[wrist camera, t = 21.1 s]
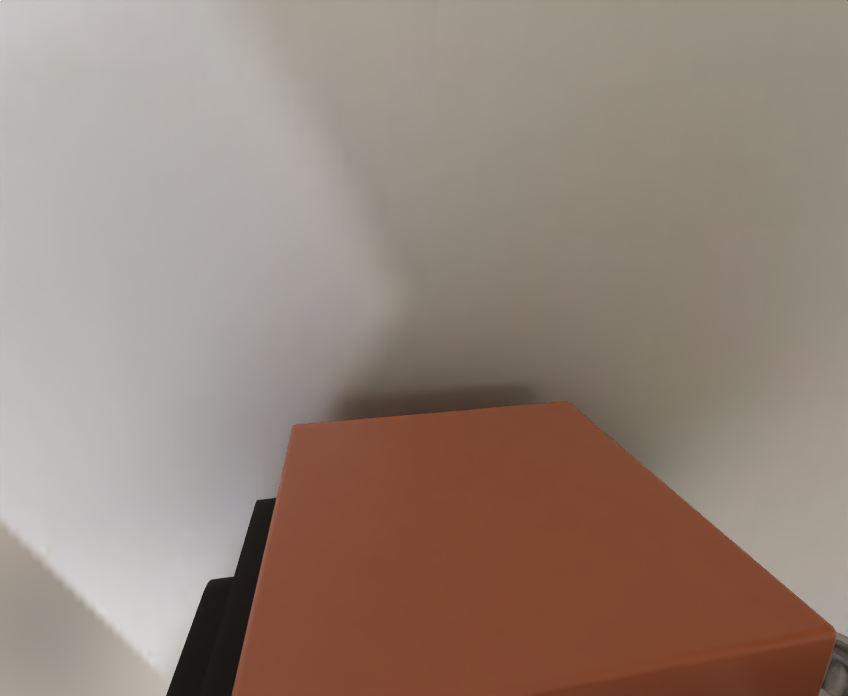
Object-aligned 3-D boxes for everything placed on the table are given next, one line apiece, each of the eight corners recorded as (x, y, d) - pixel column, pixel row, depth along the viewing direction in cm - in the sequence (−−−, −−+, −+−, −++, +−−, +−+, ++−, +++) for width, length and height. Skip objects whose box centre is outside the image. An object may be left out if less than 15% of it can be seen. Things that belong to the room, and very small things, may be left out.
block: (316, 649, 10) (290, 1105, 5) (292, 423, 9) (216, 749, 3) (550, 611, 11) (736, 968, 6) (568, 399, 9) (845, 631, 4)
